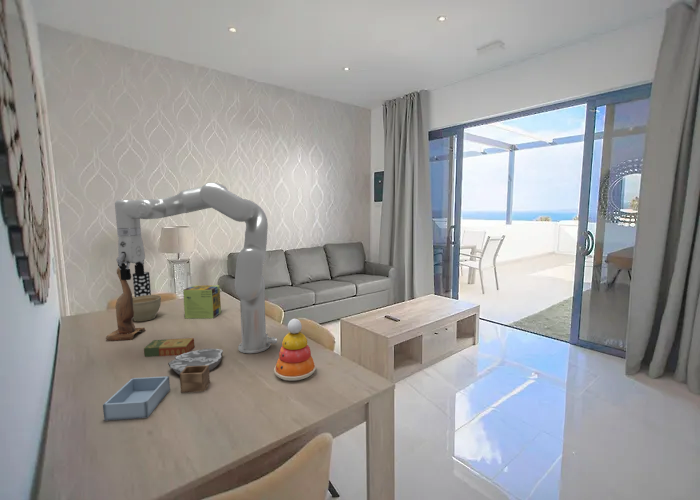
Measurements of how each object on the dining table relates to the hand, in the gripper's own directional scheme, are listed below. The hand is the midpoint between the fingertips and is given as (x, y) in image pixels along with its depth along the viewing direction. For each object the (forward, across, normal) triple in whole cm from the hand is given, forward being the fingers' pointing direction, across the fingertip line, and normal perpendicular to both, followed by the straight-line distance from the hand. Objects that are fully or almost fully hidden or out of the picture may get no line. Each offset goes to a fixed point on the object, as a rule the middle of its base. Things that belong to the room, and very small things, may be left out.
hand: (133, 277), depth 130 cm
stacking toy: (+31, -23, -62) cm, 73 cm away
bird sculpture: (+31, +21, +16) cm, 40 cm away
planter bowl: (+31, +46, +20) cm, 59 cm away
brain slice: (+31, -14, -26) cm, 43 cm away
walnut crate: (+31, -29, -31) cm, 53 cm away
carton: (+31, +1, -11) cm, 33 cm away
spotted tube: (+31, +70, +32) cm, 83 cm away
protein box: (+31, +48, -9) cm, 58 cm away
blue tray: (+31, -37, -18) cm, 51 cm away
